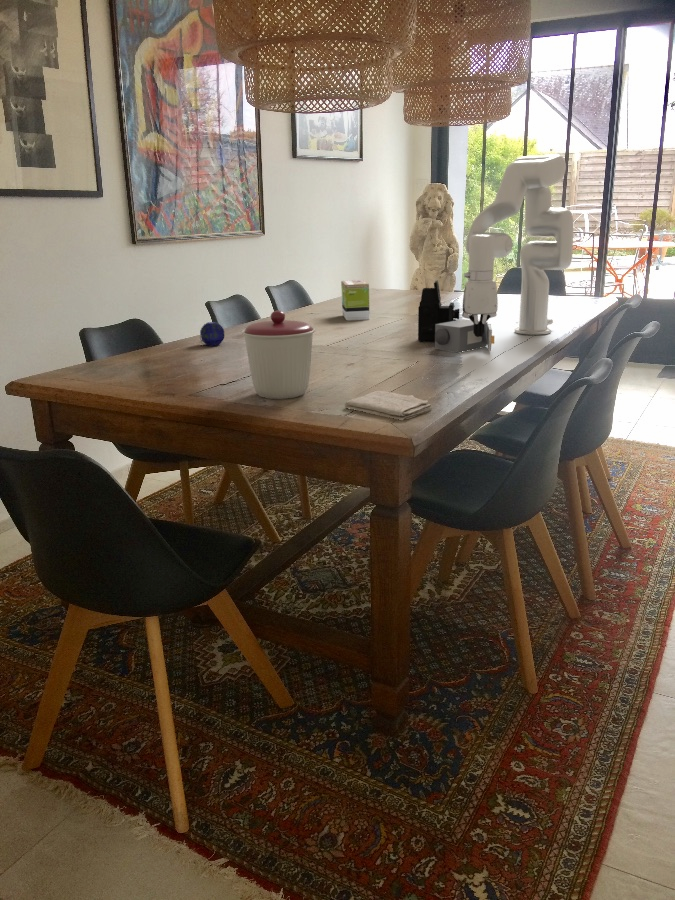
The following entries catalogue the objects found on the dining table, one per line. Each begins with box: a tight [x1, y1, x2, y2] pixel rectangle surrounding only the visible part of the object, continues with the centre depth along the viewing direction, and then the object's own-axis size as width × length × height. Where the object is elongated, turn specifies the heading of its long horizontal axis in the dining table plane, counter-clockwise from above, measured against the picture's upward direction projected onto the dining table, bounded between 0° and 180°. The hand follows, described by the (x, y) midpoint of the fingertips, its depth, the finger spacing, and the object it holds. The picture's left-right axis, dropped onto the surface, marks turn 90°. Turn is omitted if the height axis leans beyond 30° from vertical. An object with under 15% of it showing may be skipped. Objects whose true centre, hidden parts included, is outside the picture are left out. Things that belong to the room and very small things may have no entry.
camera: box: [417, 280, 460, 343], centre depth 254 cm, size 10×14×20 cm
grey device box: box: [434, 318, 489, 353], centre depth 242 cm, size 15×10×8 cm
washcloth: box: [344, 390, 433, 421], centre depth 174 cm, size 12×18×3 cm, turn 49°
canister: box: [241, 310, 316, 400], centre depth 186 cm, size 18×18×21 cm
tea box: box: [340, 279, 371, 321], centre depth 311 cm, size 15×10×15 cm
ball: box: [199, 321, 225, 347], centre depth 258 cm, size 8×8×8 cm
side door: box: [486, 323, 495, 352], centre depth 237 cm, size 12×2×6 cm, turn 172°
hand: (478, 336), depth 235 cm, fingers closed
